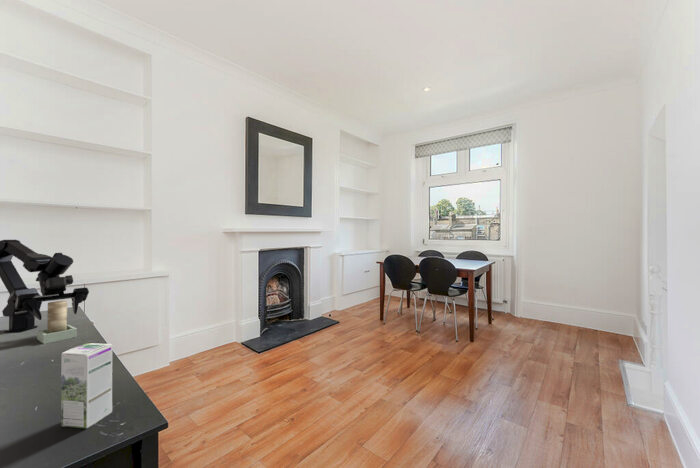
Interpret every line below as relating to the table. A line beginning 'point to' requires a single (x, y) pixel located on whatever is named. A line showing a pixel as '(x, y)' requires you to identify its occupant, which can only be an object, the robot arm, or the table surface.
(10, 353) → the table surface
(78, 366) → the syrup box
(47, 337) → the sage collar
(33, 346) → the table surface
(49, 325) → the maple dowel
